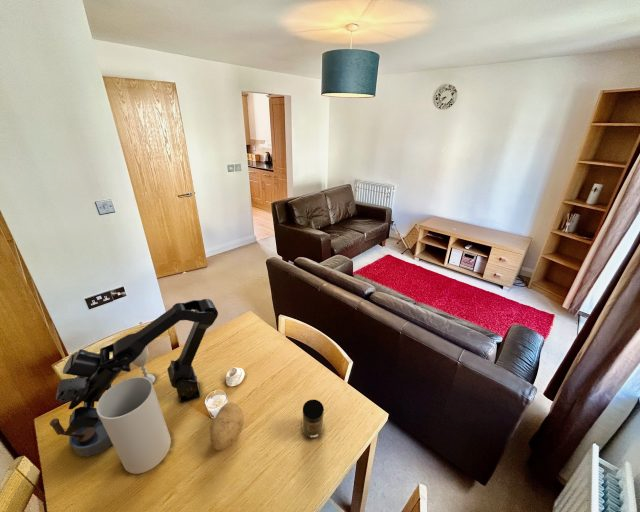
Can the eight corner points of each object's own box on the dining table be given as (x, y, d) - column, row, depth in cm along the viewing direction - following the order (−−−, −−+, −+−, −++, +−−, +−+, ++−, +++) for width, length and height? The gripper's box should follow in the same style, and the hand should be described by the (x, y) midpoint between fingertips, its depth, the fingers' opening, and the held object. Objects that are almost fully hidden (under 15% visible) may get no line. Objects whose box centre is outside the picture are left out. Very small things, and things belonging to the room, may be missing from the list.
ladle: (96, 427, 88) (83, 402, 83) (96, 439, 85) (82, 414, 80) (65, 441, 84) (49, 415, 79) (63, 453, 81) (47, 428, 76)
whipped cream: (238, 390, 104) (238, 382, 102) (221, 387, 104) (220, 379, 102) (246, 372, 111) (246, 364, 108) (230, 369, 111) (230, 361, 109)
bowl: (128, 408, 95) (125, 401, 94) (120, 445, 84) (117, 437, 83) (81, 422, 90) (77, 415, 89) (67, 464, 79) (61, 456, 78)
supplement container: (319, 417, 95) (320, 397, 90) (325, 436, 89) (326, 416, 84) (300, 422, 93) (300, 402, 88) (305, 442, 87) (305, 421, 82)
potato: (204, 457, 82) (200, 441, 79) (220, 413, 95) (217, 398, 91) (236, 459, 82) (233, 443, 78) (248, 414, 95) (246, 399, 91)
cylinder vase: (138, 485, 75) (110, 428, 65) (115, 458, 81) (87, 402, 70) (179, 445, 85) (162, 390, 74) (157, 423, 91) (137, 369, 80)
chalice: (148, 390, 102) (135, 355, 94) (132, 387, 103) (118, 351, 95) (162, 374, 108) (151, 340, 100) (147, 371, 109) (135, 337, 102)
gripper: (74, 351, 83) (40, 393, 82) (67, 397, 69) (25, 449, 68) (114, 359, 90) (82, 398, 89) (114, 403, 76) (77, 449, 75)
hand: (68, 421), depth 80 cm, fingers open, 9 cm apart
